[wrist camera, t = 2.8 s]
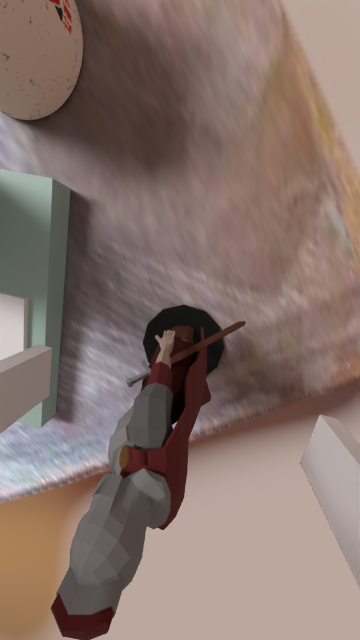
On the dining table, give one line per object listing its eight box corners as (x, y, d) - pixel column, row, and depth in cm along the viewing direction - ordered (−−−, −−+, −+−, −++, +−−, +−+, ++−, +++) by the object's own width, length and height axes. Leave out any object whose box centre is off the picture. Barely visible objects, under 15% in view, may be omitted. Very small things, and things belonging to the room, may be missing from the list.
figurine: (143, 302, 18) (-140, 447, 3) (234, 306, 17) (392, 523, 2) (144, 377, 19) (-46, 703, 5) (228, 384, 18) (303, 804, 4)
